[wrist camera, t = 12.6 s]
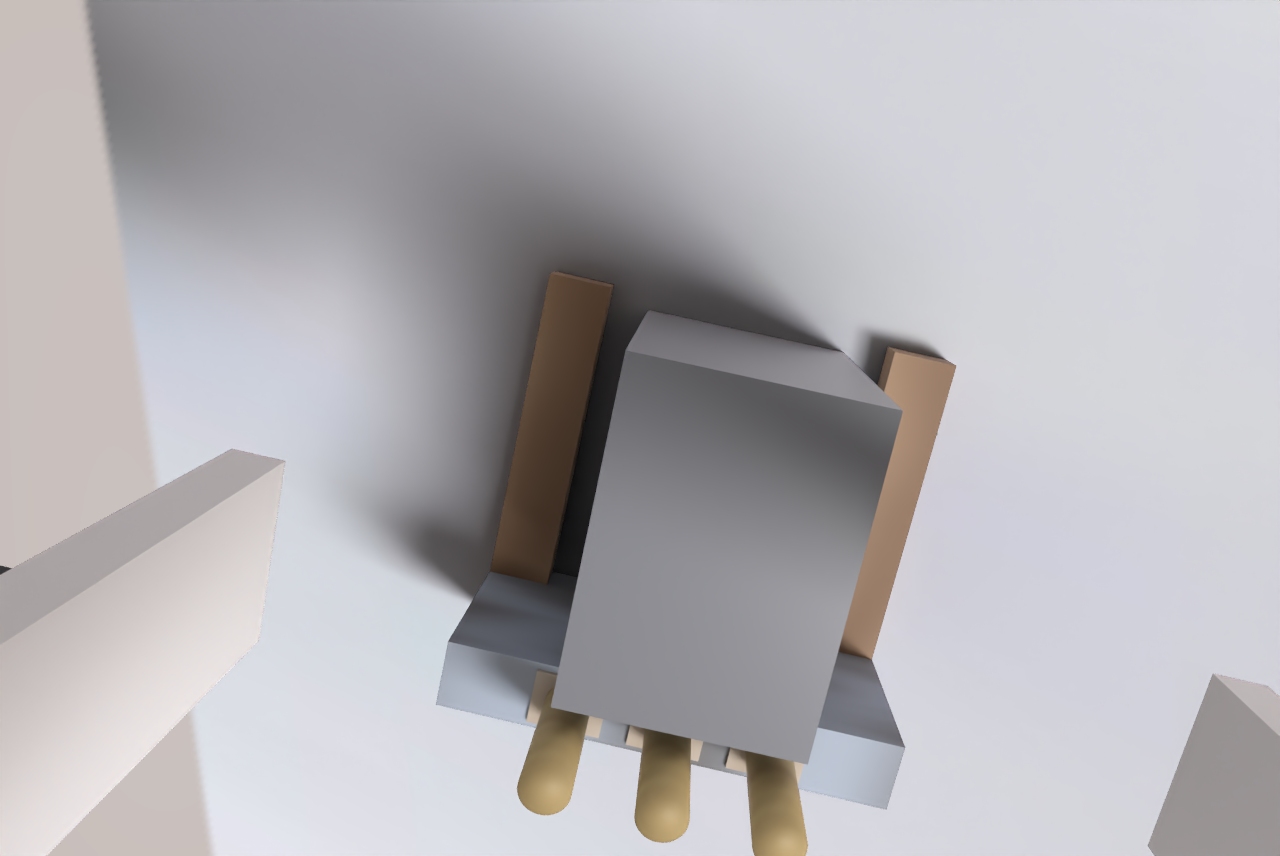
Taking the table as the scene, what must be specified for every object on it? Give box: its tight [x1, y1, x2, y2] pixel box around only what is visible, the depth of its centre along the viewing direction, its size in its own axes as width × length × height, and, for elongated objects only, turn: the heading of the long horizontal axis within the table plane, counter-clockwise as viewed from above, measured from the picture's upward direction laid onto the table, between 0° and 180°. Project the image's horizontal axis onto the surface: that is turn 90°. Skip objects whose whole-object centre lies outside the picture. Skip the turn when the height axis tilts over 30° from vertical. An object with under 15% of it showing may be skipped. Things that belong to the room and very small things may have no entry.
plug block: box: [551, 310, 903, 765], centre depth 23 cm, size 5×7×8 cm
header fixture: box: [436, 271, 956, 856], centre depth 23 cm, size 10×9×9 cm
